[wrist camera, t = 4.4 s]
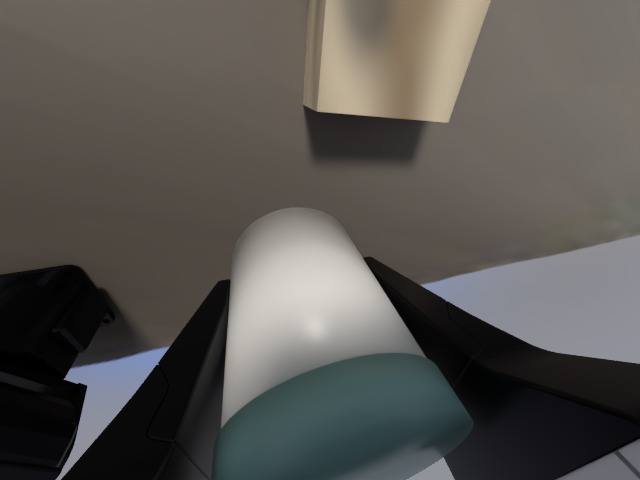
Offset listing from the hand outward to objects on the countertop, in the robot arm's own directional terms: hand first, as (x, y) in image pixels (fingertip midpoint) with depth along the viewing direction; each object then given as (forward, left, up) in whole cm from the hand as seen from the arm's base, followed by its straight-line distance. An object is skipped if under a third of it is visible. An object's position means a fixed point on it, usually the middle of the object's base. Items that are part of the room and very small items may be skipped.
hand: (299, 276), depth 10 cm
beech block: (+8, +9, -12) cm, 17 cm away
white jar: (0, 0, -1) cm, 1 cm away
